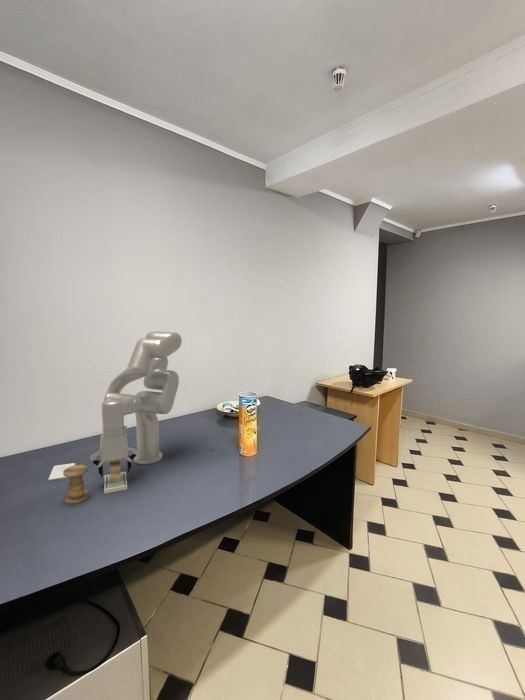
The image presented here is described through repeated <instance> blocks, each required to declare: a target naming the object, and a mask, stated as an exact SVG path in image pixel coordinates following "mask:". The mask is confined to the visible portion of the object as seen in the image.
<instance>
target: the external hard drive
mask: <svg viewBox="0 0 525 700" xmlns="http://www.w3.org/2000/svg"><path fill="white" fill-rule="evenodd" d="M74 465H76V463H75V462H72V463H65V464H57V465H54V466H53V468H52V469H51V472H50V474H49V477H48V478H47V479H48V480H47V482H48V483H50V482H57V481H65V480H70V477H65V476H64V475H63V471H64V470H65V469H66V468H68V467H71V466H74Z"/></svg>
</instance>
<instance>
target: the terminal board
mask: <svg viewBox="0 0 525 700" xmlns="http://www.w3.org/2000/svg"><path fill="white" fill-rule="evenodd" d="M120 474H121V481H120V482H114V483H111V479H110V473H109V474H105V475H104V481H103V482H104V484H103V486H104V488H103V492H104V494H105V495H106V494H110V493H114V492H120V491H126V490H128V480H127V471H120Z"/></svg>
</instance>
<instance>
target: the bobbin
mask: <svg viewBox="0 0 525 700" xmlns="http://www.w3.org/2000/svg"><path fill="white" fill-rule="evenodd" d="M87 472H88V466H87V465H85V464H75V465H74V466H71V467H68V468H66V469H65V470H64V471H63V475H64V476H65V477H70V479H69V483H68V492H69V493H68V494H66V495H65V497H64V502H65V504H71V505H73V504H78V503H82V502H84V501H85V500H87V499H88V498H89V496H90V492H89V491H88V490H87V489H85V482H84V480H83V475H84V474H85V473H87Z"/></svg>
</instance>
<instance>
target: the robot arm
mask: <svg viewBox="0 0 525 700" xmlns="http://www.w3.org/2000/svg"><path fill="white" fill-rule="evenodd" d="M181 336H182V335H180V334H179V333H178V332H175V331H149V332H148V333H147V334H146V335H145V338H140V339H139V340H138V341H136V344H135V347H134V348H133V350H132V351H133V352H132V354H131V357H130V359H129V362H128V365H127V368H126V369H124V370H122V372H120V373H119V374H118V375H117V376H116V377H114V379H113V380H112V381H111V382H110V383H109V385H108V388H107V390H106V392H105V395H104V399H103V402H102V403H101V419H102V420H101V421H102V422H101V424H102V434H101V435H100V440H99V443H100V444H99V450H97V451H95V452H94V453H92V454H91V455H89V459H90V461H91V462H92V464H93V465H96V466H97V468H98V475H100V477H101V478H102V477H103V475H104V467H103V466H104V465H103V464H104V463H105V462H111V461H118V460H123V459H126V460H127V461H126V464H127V472H128V473H129V472H130V471H131V469H132V462H133V461H134V463H136V464H138V465H151V464H152V465H153V464H156V463H158V462H159V461H161V460H162V459H163V458H164V457H163V456H164V454H163V452H161V451H160V440H159V439H160V437H159V435H160V433H159V429H160V428H159V417H158V416H157V415H168V414H169V413H171V411H172V409H173V406H174V403H175V399H176V396H177V392H178V389H179V388H178V387H179V384H180V378H179V374H178V373H177V372H176V371H174V370H171V369H168V365H169V360H168V357H169V356H170V355H172V354H174V353H176V352H177V351H178V350H179V349H180V347H181V346H182V337H181ZM142 378H143V386H144V387H145V388H146V389H148V390H142V391H139V392H137V393H136V394H129V393H128V394H126V393H121V392H122V391H123V389H124V388H125V387H126V386H127V385H128V384H130V383H133V382H135V381H137V380H141V379H142ZM152 390H153V391H152ZM161 391H162V392H161ZM131 414H135V423H136V427H135V428H136V447H134V446H131V445H129V439H128V438H129V437H128V435H127V434H128V433H127V431H128V430H129V425H128V426H126V425H125V418H124V416H127V415H131ZM130 451H131V452H133V453H131V455H130V454H129V452H130ZM98 456H99V457H100V459H97V457H98Z"/></svg>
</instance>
